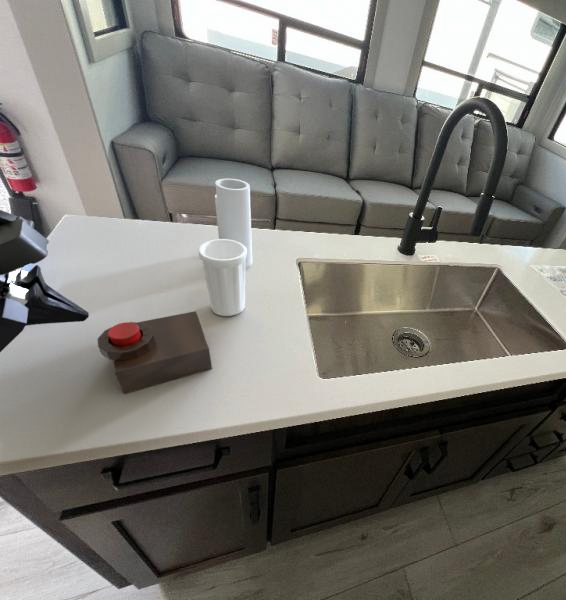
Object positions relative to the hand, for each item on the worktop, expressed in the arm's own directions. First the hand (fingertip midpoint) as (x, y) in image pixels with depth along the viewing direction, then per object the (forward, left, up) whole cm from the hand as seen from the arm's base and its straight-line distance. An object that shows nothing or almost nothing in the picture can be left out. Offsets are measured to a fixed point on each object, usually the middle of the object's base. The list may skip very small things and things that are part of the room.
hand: (86, 317), depth 45 cm
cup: (+4, +22, -12) cm, 25 cm away
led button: (+2, +3, -5) cm, 6 cm away
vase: (-7, +39, -12) cm, 41 cm away
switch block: (+5, +6, -12) cm, 14 cm away
